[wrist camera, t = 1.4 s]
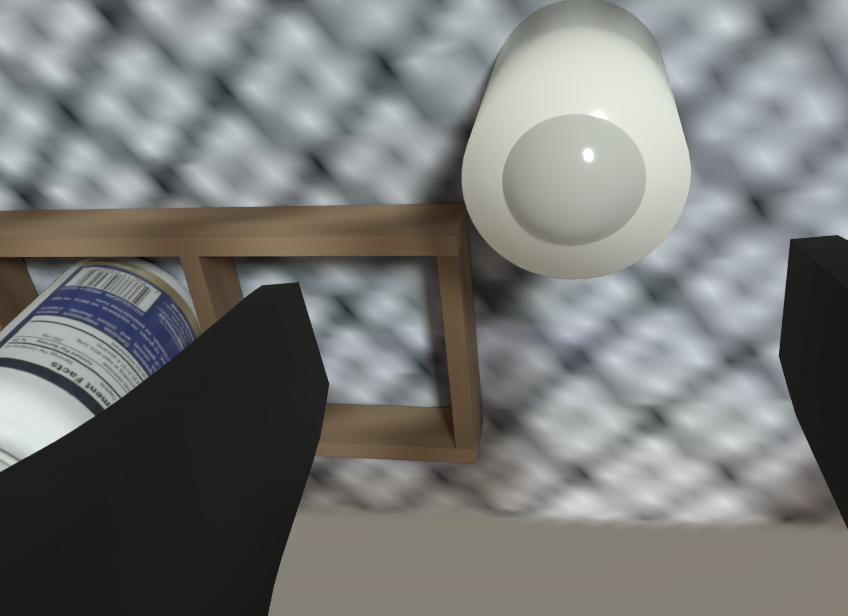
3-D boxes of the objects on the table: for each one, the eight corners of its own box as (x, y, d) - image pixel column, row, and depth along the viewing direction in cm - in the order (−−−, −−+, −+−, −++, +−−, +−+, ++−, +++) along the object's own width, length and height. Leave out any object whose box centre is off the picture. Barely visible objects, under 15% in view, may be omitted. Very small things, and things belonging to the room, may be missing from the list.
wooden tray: (466, 203, 23) (456, 235, 21) (482, 422, 27) (476, 463, 25) (-14, 211, 26) (-55, 239, 24) (70, 406, 30) (40, 442, 29)
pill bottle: (133, 398, 29) (-39, 626, 21) (31, 284, 27) (-202, 491, 19) (243, 349, 27) (97, 584, 19) (141, 223, 25) (-70, 427, 17)
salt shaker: (670, -8, 19) (705, 78, 13) (660, 165, 21) (686, 300, 16) (487, 4, 20) (446, 88, 14) (495, 169, 22) (464, 298, 16)
